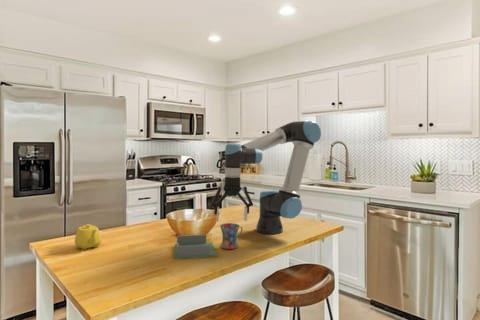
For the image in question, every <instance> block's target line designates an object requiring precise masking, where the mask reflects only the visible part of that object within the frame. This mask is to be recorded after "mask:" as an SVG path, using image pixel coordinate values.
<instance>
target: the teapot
mask: <svg viewBox="0 0 480 320" xmlns="http://www.w3.org/2000/svg"><path fill="white" fill-rule="evenodd" d="M74 243H75V245H76V246H77V248H78V249H79V248H80V249H81V251H86V250H87V249H89V248H94V249H98V248H99V246H100V245H101V243H102V235H101V232H100V230H99V228H98V226H96V225H92V224H90V223H87V224H85V225H82V226H80V227H78V228H77V230H76V233H75V238H74Z"/></svg>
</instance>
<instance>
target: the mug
mask: <svg viewBox="0 0 480 320" xmlns="http://www.w3.org/2000/svg"><path fill="white" fill-rule="evenodd" d="M219 227H220V229H221V234H222V240H221V244H220V247H221V248H223V249H225V250H234V249H235V250H236V249H237V248H239V243H238V238H239V237H240V236H241V234H242V233H243V227H242V226H240V224H238V223H234V222H233V223H231V222H230V223H229V222H228V223H227V222H226V223H222V224H220V225H219ZM239 229H240V231H239ZM238 231H239V234H238Z"/></svg>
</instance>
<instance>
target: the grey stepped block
mask: <svg viewBox="0 0 480 320" xmlns="http://www.w3.org/2000/svg"><path fill="white" fill-rule="evenodd" d="M216 252H217V251H216V249H215V247H214V244H213V241H207V234H205V233H204V234H187V235H186V234H185V235H183V234H182V235H177V236H176V243H175V244H174V260H179V259H182V260H183V259H195V258H196V259H197V258H198V259H199V258H201V259H202V258H214V257H217V253H216Z"/></svg>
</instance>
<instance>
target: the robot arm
mask: <svg viewBox="0 0 480 320" xmlns="http://www.w3.org/2000/svg"><path fill="white" fill-rule="evenodd" d="M321 137H322V131H321V127H320V125H319V123H318V122H316V121H314V120H302V121H292V122H288V123H286V124H284V125H282V126H279V127H277V128H276V129H274V131H273V132H270V133H267V134H265V135H262V136H260V137H258V138H255V139H253V140H251V141H249V142H246V143H244V144H239V143H238V144H236V143H234V144H233V143H230V144H229V143H227V144H226V145H225V149H224V151H225V152H224V176H225V177H224V186H220V185H219V186H217V191H216V193H215V195H214V197H213V198H212V200H211V202H210V206H211V207H214V209H213V211H214V212H213V213H214V215H216V217H215V219H216V222H217V223H219V219H220V216H219V215H220V207H219V206H220V205H221V203H222V202H223V201H224V200H225V199H226V198H227V197H236V196H238V197H239V199H240V200H241V201H242V202H243V203H244V205H245V206H244V208H243V209H244V211H243V215H244V217H243V218H244V219H243V220H244V221H245V222H248V214H250V207H253V206H254V203H253V201H252V199H251V197H250V194H249V193H248V188H247V186H246V185H244V186H241V170H242V169H241V167H242V165H246V164H247V165H255V164H260V163H262V161H263V156H264V155H263V152H264V151H267V150H269V149H272V148H274V147H276V146H277V145H278V146H279V145H284V144H287V143H292V144H293V148H292V152H291V156H290V159H289V163H288V166H287V171H286V175H285V178H284V182H283V185H282V188H280V189H279V190H278V189H277V190H275V189H274V190H263V191H261V192H260V193H259V218H258V221H257V222H256V223H257V224H256V227H255V231H256V232H257V233H260V234H265V235H275V234H276V235H277V234H281V233H283V231H284V229H283V228H284V226H283V223H282V220H281V217H282V218H283V219H284V218H285V219H289V220H290V219H295V218H297V216H299V215H300V213H301V212H302V208H303V203H302V201H301V199H300V198H301V194H300V188H301V183H302V179H303V176H304V172H305V167H306V164H307V160H308V157H309V153H310V150H311V149H313V148H314V145H315V143H317V142H319V140H320V139H321ZM222 191H224V193H223V194H222V195H221V194H220V193H221V192H222ZM241 191H242V192H243V193H244V195H245V197H246V199H247V200H246V199H245V198H244V197H243V196H242V194H241ZM220 195H221V197H220V198H219V196H220ZM218 198H219V199H218ZM217 199H218V200H217Z"/></svg>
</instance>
